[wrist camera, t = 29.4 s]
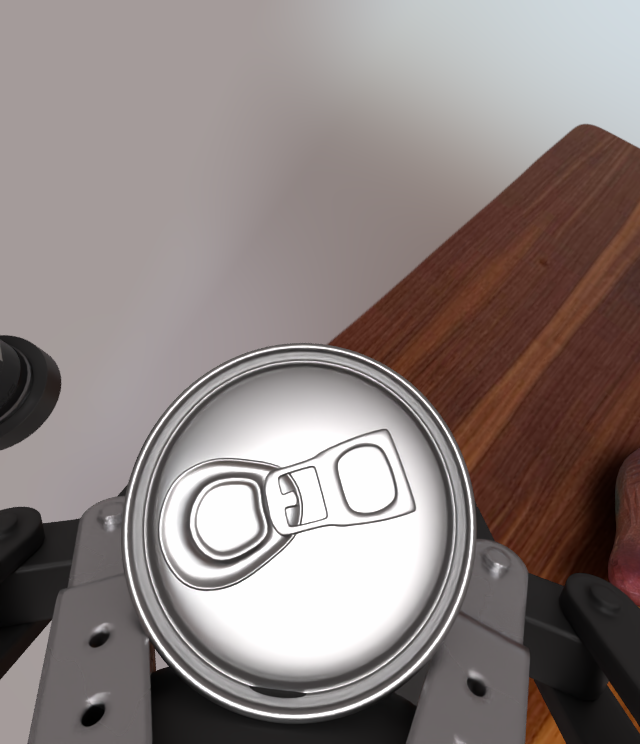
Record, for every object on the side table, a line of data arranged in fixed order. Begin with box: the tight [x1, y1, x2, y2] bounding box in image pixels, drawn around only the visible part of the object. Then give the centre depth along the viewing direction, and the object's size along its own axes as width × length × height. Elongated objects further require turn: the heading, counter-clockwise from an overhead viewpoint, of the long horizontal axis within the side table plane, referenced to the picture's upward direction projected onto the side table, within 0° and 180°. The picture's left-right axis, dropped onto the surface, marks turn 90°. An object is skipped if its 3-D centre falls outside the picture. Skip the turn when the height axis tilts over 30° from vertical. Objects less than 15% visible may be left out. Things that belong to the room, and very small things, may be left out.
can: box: [121, 343, 477, 724], centre depth 11 cm, size 6×6×12 cm
